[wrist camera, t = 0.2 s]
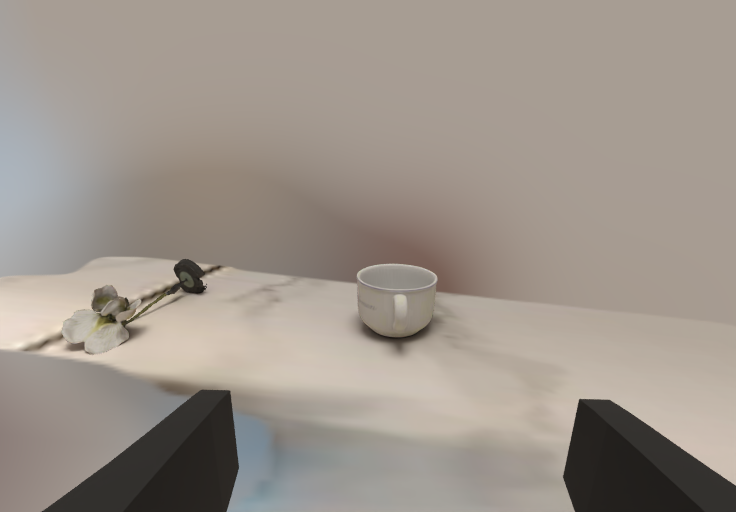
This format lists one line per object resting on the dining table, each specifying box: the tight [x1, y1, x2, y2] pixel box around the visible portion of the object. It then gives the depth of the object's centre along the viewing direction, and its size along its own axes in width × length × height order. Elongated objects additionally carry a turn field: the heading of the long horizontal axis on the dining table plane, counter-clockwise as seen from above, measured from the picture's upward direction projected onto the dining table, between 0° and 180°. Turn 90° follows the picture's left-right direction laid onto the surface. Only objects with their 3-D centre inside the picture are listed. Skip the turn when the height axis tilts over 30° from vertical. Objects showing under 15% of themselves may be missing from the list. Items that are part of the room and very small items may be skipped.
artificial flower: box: [61, 259, 207, 355], centre depth 64 cm, size 9×22×10 cm, turn 157°
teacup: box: [357, 264, 437, 337], centre depth 57 cm, size 14×11×8 cm
